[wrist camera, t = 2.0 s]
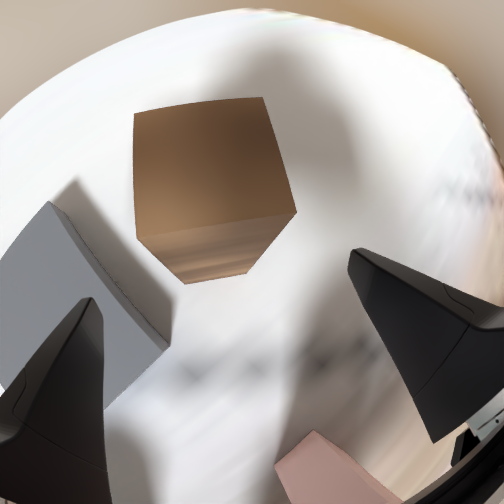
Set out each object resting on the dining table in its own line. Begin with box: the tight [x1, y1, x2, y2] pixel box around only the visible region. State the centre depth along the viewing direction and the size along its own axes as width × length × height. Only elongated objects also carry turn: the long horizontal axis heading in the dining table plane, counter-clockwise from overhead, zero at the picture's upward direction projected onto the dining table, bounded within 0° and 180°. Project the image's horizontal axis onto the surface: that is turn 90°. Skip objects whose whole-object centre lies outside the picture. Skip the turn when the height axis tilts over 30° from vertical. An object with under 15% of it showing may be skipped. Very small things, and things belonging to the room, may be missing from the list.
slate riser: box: [0, 201, 170, 410], centre depth 15 cm, size 14×14×3 cm
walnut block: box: [133, 97, 297, 284], centre depth 14 cm, size 4×4×12 cm
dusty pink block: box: [274, 430, 403, 504], centre depth 11 cm, size 4×4×12 cm
